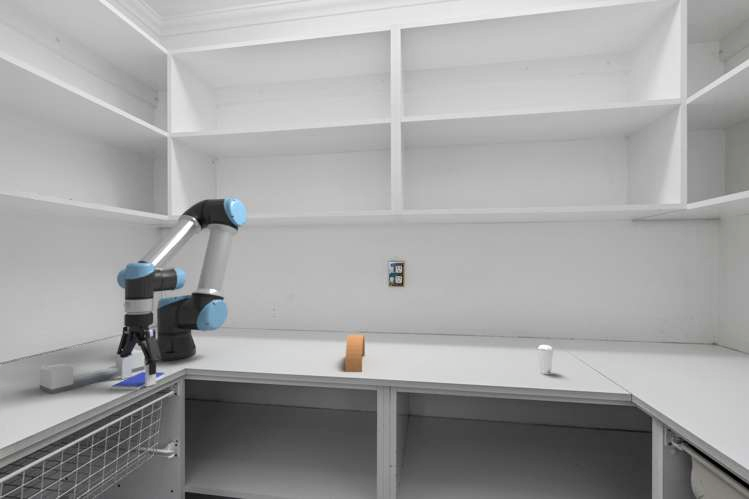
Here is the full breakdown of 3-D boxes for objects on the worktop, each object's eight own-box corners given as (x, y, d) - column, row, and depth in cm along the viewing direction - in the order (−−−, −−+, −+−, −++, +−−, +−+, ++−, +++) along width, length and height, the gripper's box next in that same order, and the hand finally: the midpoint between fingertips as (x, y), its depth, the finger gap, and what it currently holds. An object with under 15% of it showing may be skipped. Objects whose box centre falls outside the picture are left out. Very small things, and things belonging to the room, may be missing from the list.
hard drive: (137, 386, 105) (164, 372, 117) (110, 385, 105) (140, 371, 118) (137, 391, 105) (164, 377, 117) (110, 390, 105) (140, 376, 118)
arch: (344, 371, 120) (344, 342, 121) (350, 355, 140) (350, 329, 141) (362, 372, 120) (361, 342, 120) (365, 355, 140) (365, 329, 140)
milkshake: (549, 377, 114) (549, 345, 114) (535, 372, 119) (534, 342, 119) (558, 374, 116) (558, 343, 116) (544, 370, 121) (543, 340, 121)
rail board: (131, 365, 127) (131, 348, 127) (144, 369, 123) (144, 351, 123) (39, 388, 105) (40, 367, 105) (51, 393, 101) (52, 371, 102)
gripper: (105, 311, 114) (103, 378, 114) (149, 317, 102) (148, 392, 102) (130, 308, 121) (129, 371, 120) (174, 313, 109) (174, 384, 108)
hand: (138, 381), depth 111 cm, fingers open, 13 cm apart
